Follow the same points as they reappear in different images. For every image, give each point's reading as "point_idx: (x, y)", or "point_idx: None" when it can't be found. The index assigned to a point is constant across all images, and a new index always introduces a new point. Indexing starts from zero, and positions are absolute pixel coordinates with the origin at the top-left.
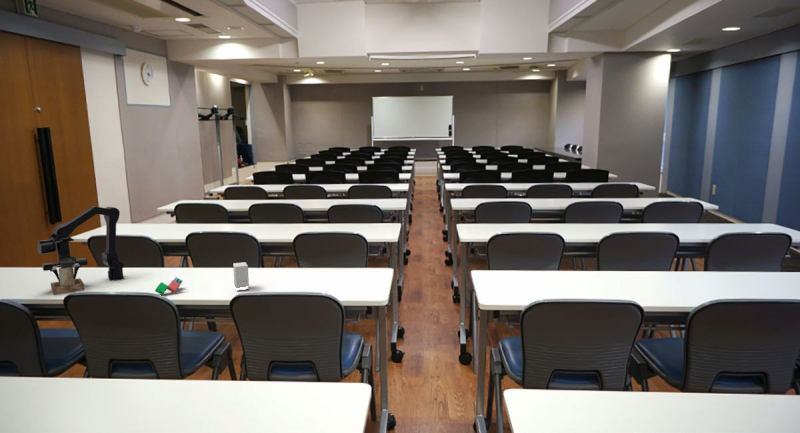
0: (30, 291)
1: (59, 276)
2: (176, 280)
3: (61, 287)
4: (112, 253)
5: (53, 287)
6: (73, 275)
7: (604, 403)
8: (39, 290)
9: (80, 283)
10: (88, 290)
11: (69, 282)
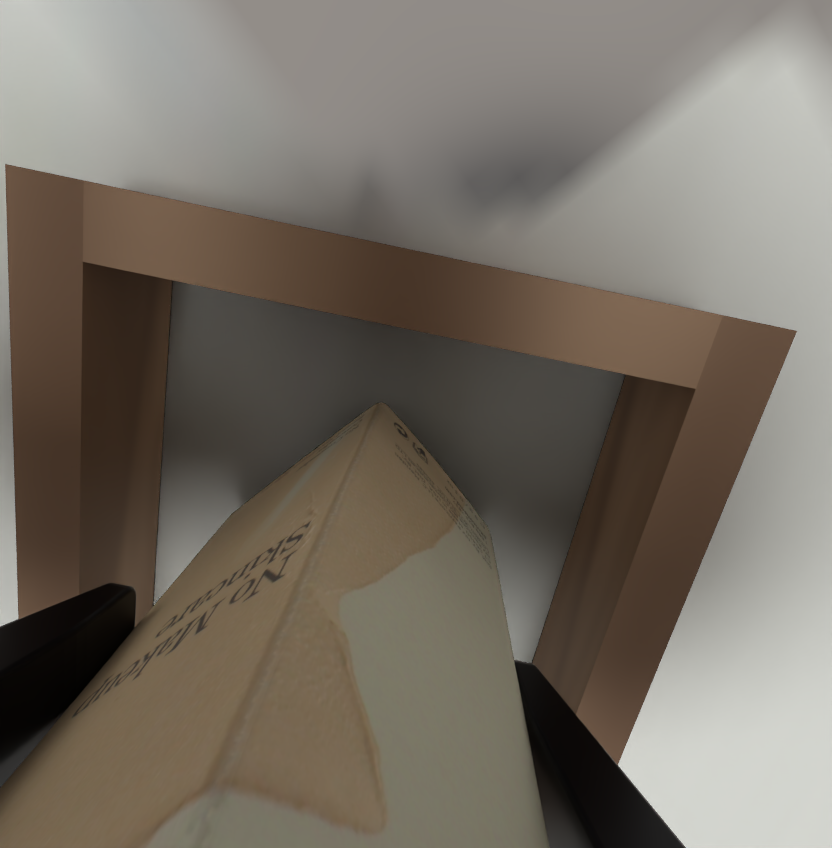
0: (815, 829)
1: (544, 823)
2: None
3: (594, 290)
4: None
5: (719, 471)
6: (62, 719)
7: None
8: (709, 785)
9: (87, 331)
10: (62, 23)
11: (313, 480)
